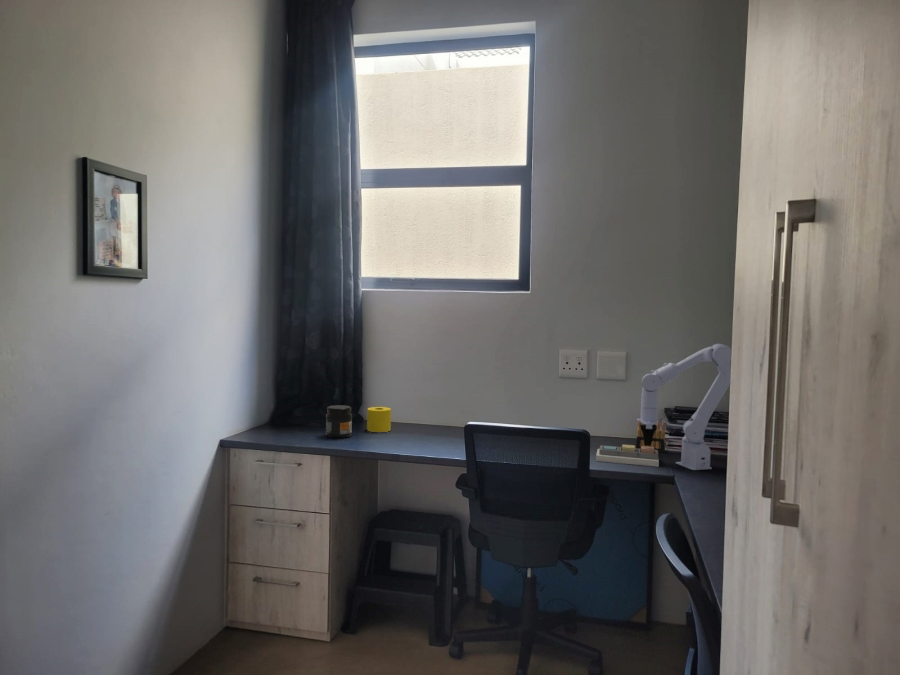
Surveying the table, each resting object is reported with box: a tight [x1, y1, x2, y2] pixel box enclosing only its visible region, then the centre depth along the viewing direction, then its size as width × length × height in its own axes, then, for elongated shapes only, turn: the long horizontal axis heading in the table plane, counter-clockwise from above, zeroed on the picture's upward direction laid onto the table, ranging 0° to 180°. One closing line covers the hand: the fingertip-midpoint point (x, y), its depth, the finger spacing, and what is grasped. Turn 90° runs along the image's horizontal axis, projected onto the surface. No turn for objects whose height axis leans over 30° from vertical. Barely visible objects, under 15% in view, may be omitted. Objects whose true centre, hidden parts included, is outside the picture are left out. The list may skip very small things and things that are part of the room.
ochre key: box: [621, 444, 636, 452], centre depth 220 cm, size 4×4×2 cm
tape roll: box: [366, 406, 392, 433], centre depth 262 cm, size 10×10×9 cm
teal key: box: [603, 445, 617, 450], centre depth 222 cm, size 4×4×2 cm
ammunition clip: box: [635, 419, 666, 453], centre depth 237 cm, size 11×2×12 cm, turn 64°
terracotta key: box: [641, 446, 654, 454], centre depth 218 cm, size 4×4×2 cm
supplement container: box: [325, 404, 353, 439], centre depth 249 cm, size 10×10×12 cm
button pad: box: [595, 445, 660, 468], centre depth 220 cm, size 21×11×4 cm, turn 74°
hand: (647, 445), depth 218 cm, fingers closed
